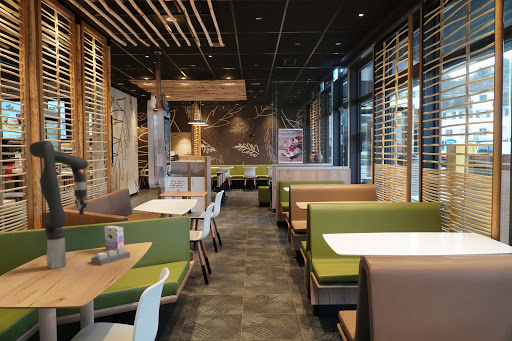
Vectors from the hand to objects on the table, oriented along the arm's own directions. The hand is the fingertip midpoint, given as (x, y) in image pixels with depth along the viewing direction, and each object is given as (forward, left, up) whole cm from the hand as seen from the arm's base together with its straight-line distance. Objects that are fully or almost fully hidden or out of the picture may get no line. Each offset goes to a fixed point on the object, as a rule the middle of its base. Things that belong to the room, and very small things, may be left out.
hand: (81, 214), depth 236 cm
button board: (+4, -27, -27) cm, 38 cm away
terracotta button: (+11, -27, -24) cm, 38 cm away
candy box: (+18, -8, -27) cm, 34 cm away
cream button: (-3, -27, -24) cm, 36 cm away
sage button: (+4, -27, -24) cm, 36 cm away
